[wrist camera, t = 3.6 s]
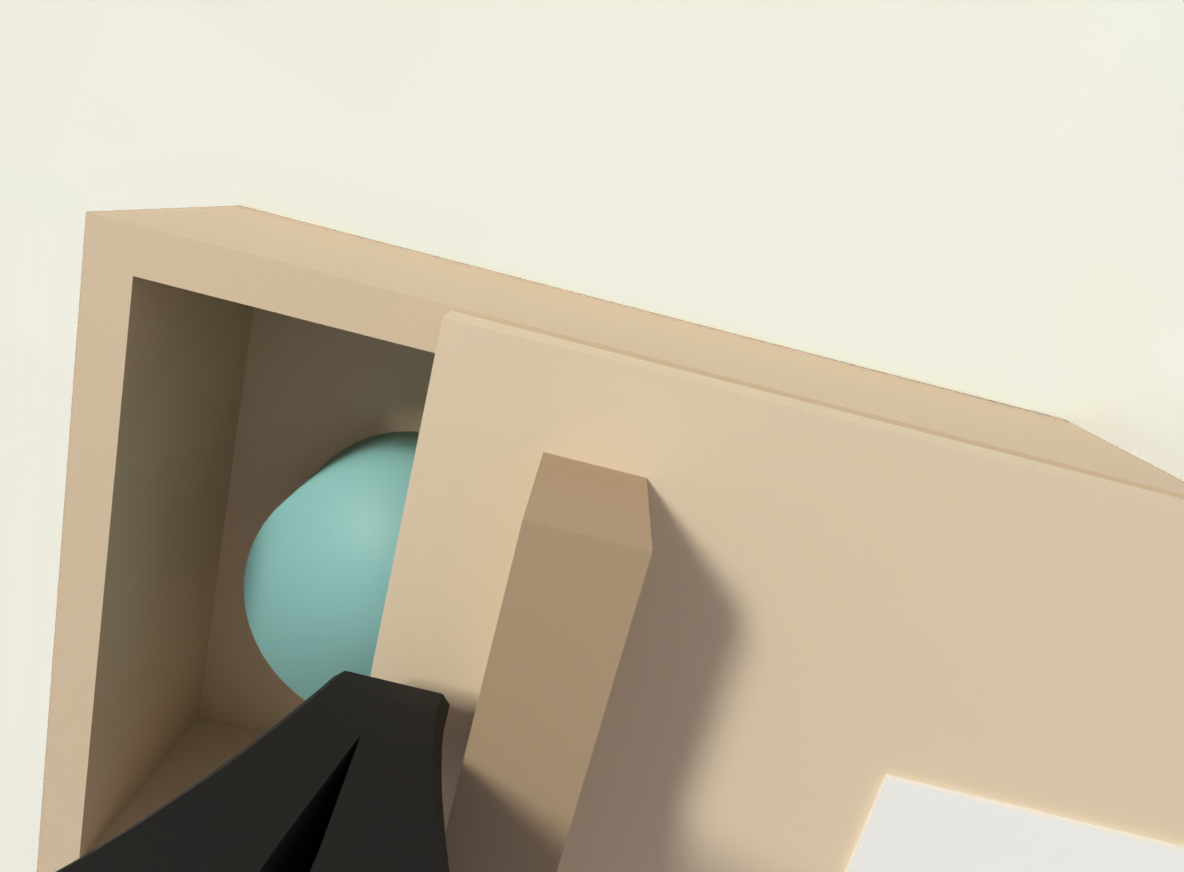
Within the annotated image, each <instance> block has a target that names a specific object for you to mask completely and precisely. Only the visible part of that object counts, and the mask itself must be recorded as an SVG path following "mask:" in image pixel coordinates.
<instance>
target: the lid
mask: <svg viewBox="0 0 1184 872" xmlns="http://www.w3.org/2000/svg"><path fill="white" fill-rule="evenodd" d="M370 677H374V678H379V679H383V680H387V681H391V682H395V683H400V684H404V685H408V686H412V687H416V688H421V689H425V690H429V691H433V692H437V693H442V694H443V695H444V697H445V698H446V700H447V701H448V703H449V704H450V706H449V711H448V715H447V719H446V723H445V728H444V732H443V742H442V800H443V813H444V825H445V838H446V847H447V856H448V864H449V871H450V872H1184V499H1181V498H1177V497H1173V496H1169V495H1165V494H1162V493H1158V492H1154V491H1150V490H1146V489H1142V488H1138V487H1134V486H1130V485H1127V484H1123V483H1119V482H1115V481H1111V480H1107V479H1103V478H1099V477H1096V476H1092V475H1088V474H1084V473H1080V472H1076V471H1072V470H1068V469H1064V468H1061V467H1057V466H1053V465H1049V464H1045V463H1041V462H1037V461H1033V460H1030V459H1026V458H1022V457H1018V456H1014V455H1010V454H1006V453H1002V452H998V451H995V450H991V449H987V448H983V447H979V446H975V445H971V444H967V443H963V442H960V441H956V440H952V439H948V438H944V437H940V436H936V435H932V434H929V433H925V432H921V431H917V430H913V429H909V428H905V427H901V426H897V425H894V424H890V423H886V422H882V421H878V420H874V419H870V418H866V417H863V416H859V415H855V414H851V413H847V412H843V411H839V410H835V409H831V408H828V407H824V406H820V405H816V404H812V403H808V402H804V401H800V400H797V399H793V398H789V397H785V396H781V395H777V394H773V393H769V392H765V391H762V390H758V389H754V388H750V387H746V386H742V385H738V384H734V383H730V382H727V381H723V380H719V379H715V378H711V377H707V376H703V375H699V374H696V373H692V372H688V371H684V370H680V369H676V368H672V367H668V366H664V365H661V364H657V363H653V362H649V361H645V360H641V359H637V358H633V357H630V356H626V355H622V354H618V353H614V352H610V351H606V350H602V349H598V348H595V347H591V346H587V345H583V344H579V343H575V342H571V341H567V340H564V339H560V338H556V337H552V336H548V335H544V334H540V333H536V332H532V331H529V330H525V329H521V328H517V327H513V326H509V325H505V324H501V323H497V322H494V321H490V320H486V319H482V318H478V317H474V316H470V315H466V314H463V313H459V312H455V311H451V312H449V313H448V314H446V315H445V316H443V317H442V322H441V327H440V332H439V337H438V342H437V347H436V352H435V357H434V362H433V367H432V372H431V377H430V382H429V387H428V392H427V397H426V402H425V407H424V412H423V417H422V422H421V426H420V431H419V436H418V441H417V446H416V451H415V456H414V461H413V466H412V471H411V476H410V481H409V486H408V491H407V496H406V501H405V506H404V511H403V516H402V521H401V526H400V531H399V536H398V541H397V545H396V550H395V555H394V560H393V565H392V570H391V575H390V580H389V585H388V590H387V595H386V600H385V605H384V610H383V615H382V620H381V625H380V630H379V635H378V640H377V645H376V650H375V655H374V660H373V664H372V669H371V674H370Z"/></svg>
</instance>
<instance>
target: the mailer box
mask: <svg viewBox="0 0 1184 872" xmlns="http://www.w3.org/2000/svg"><path fill="white" fill-rule="evenodd" d="M451 311H455V312H459V313H463V314H466V315H470V316H474V317H478V318H482V319H486V320H490V321H494V322H497V323H501V324H505V325H509V326H513V327H517V328H521V329H525V330H529V331H532V332H536V333H540V334H544V335H548V336H552V337H556V338H560V339H564V340H567V341H571V342H575V343H579V344H583V345H587V346H591V347H595V348H598V349H602V350H606V351H610V352H614V353H618V354H622V355H626V356H630V357H633V358H637V359H641V360H645V361H649V362H653V363H657V364H661V365H664V366H668V367H672V368H676V369H680V370H684V371H688V372H692V373H696V374H699V375H703V376H707V377H711V378H715V379H719V380H723V381H727V382H730V383H734V384H738V385H742V386H746V387H750V388H754V389H758V390H762V391H765V392H769V393H773V394H777V395H781V396H785V397H789V398H793V399H797V400H800V401H804V402H808V403H812V404H816V405H820V406H824V407H828V408H831V409H835V410H839V411H843V412H847V413H851V414H855V415H859V416H863V417H866V418H870V419H874V420H878V421H882V422H886V423H890V424H894V425H897V426H901V427H905V428H909V429H913V430H917V431H921V432H925V433H929V434H932V435H936V436H940V437H944V438H948V439H952V440H956V441H960V442H963V443H967V444H971V445H975V446H979V447H983V448H987V449H991V450H995V451H998V452H1002V453H1006V454H1010V455H1014V456H1018V457H1022V458H1026V459H1030V460H1033V461H1037V462H1041V463H1045V464H1049V465H1053V466H1057V467H1061V468H1064V469H1068V470H1072V471H1076V472H1080V473H1084V474H1088V475H1092V476H1096V477H1099V478H1103V479H1107V480H1111V481H1115V482H1119V483H1123V484H1127V485H1130V486H1134V487H1138V488H1142V489H1146V490H1150V491H1154V492H1158V493H1162V494H1165V495H1169V496H1173V497H1177V498H1181V499H1184V481H1182V480H1180V479H1178V478H1176V477H1174V476H1172V475H1170V474H1168V473H1166V472H1165V471H1163V470H1161V469H1159V468H1157V467H1155V466H1153V465H1151V464H1149V463H1147V462H1145V461H1143V460H1141V459H1140V458H1138V457H1136V456H1134V455H1132V454H1130V453H1128V452H1126V451H1124V450H1122V449H1120V448H1118V447H1116V446H1115V445H1113V444H1111V443H1109V442H1107V441H1105V440H1103V439H1101V438H1099V437H1097V436H1095V435H1093V434H1091V433H1090V432H1088V431H1086V430H1084V429H1082V428H1080V427H1078V426H1076V425H1074V424H1072V423H1070V422H1068V421H1066V420H1063V419H1060V418H1056V417H1052V416H1048V415H1044V414H1040V413H1037V412H1033V411H1029V410H1025V409H1021V408H1017V407H1013V406H1010V405H1006V404H1002V403H998V402H994V401H990V400H986V399H983V398H979V397H975V396H971V395H967V394H963V393H960V392H956V391H952V390H948V389H944V388H940V387H936V386H933V385H929V384H925V383H921V382H917V381H913V380H909V379H906V378H902V377H898V376H894V375H890V374H886V373H882V372H879V371H875V370H871V369H867V368H863V367H859V366H856V365H852V364H848V363H844V362H840V361H836V360H832V359H829V358H825V357H821V356H817V355H813V354H809V353H805V352H802V351H798V350H794V349H790V348H786V347H782V346H779V345H775V344H771V343H767V342H763V341H759V340H755V339H752V338H748V337H744V336H740V335H736V334H732V333H728V332H725V331H721V330H717V329H713V328H709V327H705V326H702V325H698V324H694V323H690V322H686V321H682V320H678V319H675V318H671V317H667V316H663V315H659V314H655V313H651V312H648V311H644V310H640V309H636V308H632V307H628V306H624V305H621V304H617V303H613V302H609V301H605V300H601V299H598V298H594V297H590V296H586V295H582V294H578V293H574V292H571V291H567V290H563V289H559V288H555V287H551V286H547V285H544V284H540V283H536V282H532V281H528V280H524V279H521V278H517V277H513V276H509V275H505V274H501V273H497V272H494V271H490V270H486V269H482V268H478V267H474V266H470V265H467V264H463V263H459V262H455V261H451V260H447V259H444V258H440V257H436V256H432V255H428V254H424V253H420V252H417V251H413V250H409V249H405V248H401V247H397V246H393V245H390V244H386V243H382V242H378V241H374V240H370V239H366V238H363V237H359V236H355V235H351V234H347V233H343V232H340V231H336V230H332V229H328V228H324V227H320V226H316V225H313V224H309V223H305V222H301V221H297V220H293V219H289V218H286V217H282V216H278V215H274V214H270V213H266V212H263V211H259V210H255V209H251V208H247V207H243V206H215V207H190V208H165V209H140V210H115V211H89V212H86V220H85V233H84V247H83V260H82V273H81V287H80V300H79V313H78V327H77V340H76V354H75V367H74V380H73V394H72V407H71V421H70V434H69V447H68V461H67V474H66V487H65V501H64V514H63V528H62V541H61V554H60V568H59V581H58V595H57V608H56V621H55V635H54V648H53V661H52V675H51V688H50V702H49V715H48V728H47V742H46V755H45V769H44V782H43V795H42V809H41V822H40V835H39V849H38V862H37V872H56V871H58V870H59V869H61V868H63V867H65V866H66V865H68V864H70V863H72V862H73V861H75V860H77V859H79V858H80V857H82V856H84V855H85V854H87V853H89V852H90V851H92V850H94V849H95V848H97V847H99V846H100V845H102V844H104V843H105V842H107V841H109V840H110V839H112V838H113V837H115V836H117V835H118V834H120V833H122V832H123V831H125V830H126V829H128V828H130V827H131V826H133V825H134V824H136V823H137V822H139V821H140V820H142V819H143V818H145V817H146V816H148V815H149V814H151V813H152V812H154V811H155V810H157V809H158V808H160V807H161V806H163V805H164V804H166V803H167V802H169V801H170V800H172V799H173V798H175V797H176V796H178V795H179V794H181V793H182V792H184V791H185V790H187V789H188V788H190V787H191V786H193V785H195V784H196V783H197V782H199V781H200V780H202V779H203V778H205V777H206V776H207V775H209V774H210V773H212V772H213V771H214V770H216V769H217V768H218V767H220V766H221V765H222V764H224V763H225V762H227V761H228V760H229V759H231V758H232V757H233V756H235V755H236V754H237V753H239V752H240V751H241V750H243V749H244V748H245V747H247V746H248V745H250V744H251V743H252V742H254V741H255V740H256V739H258V738H259V737H260V736H262V735H263V734H264V733H266V732H267V731H268V730H269V729H271V728H272V727H273V726H274V725H276V724H277V723H278V722H279V721H281V720H282V719H283V718H285V717H286V716H287V715H288V714H290V713H291V712H292V711H293V710H295V709H296V708H297V707H298V706H299V705H301V704H302V703H303V702H304V701H305V700H307V699H308V698H309V697H310V696H311V695H313V694H314V693H315V692H316V691H317V690H319V689H320V688H321V687H322V686H323V685H324V684H326V683H327V682H328V681H329V680H330V679H331V678H333V677H334V676H336V675H338V674H339V673H341V672H343V671H349V672H353V673H358V674H362V675H366V676H370V674H371V669H372V664H373V660H374V655H375V650H376V645H377V640H378V635H379V630H380V625H381V620H382V615H383V610H384V605H385V600H386V595H387V590H388V585H389V580H390V575H391V570H392V565H393V560H394V555H395V550H396V545H397V541H398V536H399V531H400V526H401V521H402V516H403V511H404V506H405V501H406V496H407V491H408V486H409V481H410V476H411V471H412V466H413V461H414V456H415V451H416V446H417V441H418V436H419V431H420V426H421V422H422V417H423V412H424V407H425V402H426V397H427V392H428V387H429V382H430V377H431V372H432V367H433V362H434V357H435V352H436V347H437V342H438V337H439V332H440V327H441V322H442V317H443V316H445V315H446V314H448V313H449V312H451Z"/></svg>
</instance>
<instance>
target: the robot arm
mask: <svg viewBox="0 0 1184 872" xmlns="http://www.w3.org/2000/svg"><path fill="white" fill-rule="evenodd" d="M449 706H450V704H449V703H448V701H447V700H446V698H445V697H444V695H443V694H442V693H437V692H433V691H429V690H425V689H421V688H416V687H412V686H408V685H404V684H400V683H395V682H391V681H387V680H383V679H379V678H374V677H370V676H366V675H362V674H358V673H353V672H349V671H343V672H341V673H339V674H338V675H336V676H334V677H333V678H331V679H330V680H329V681H328V682H327V683H326V684H324V685H323V686H322V687H321V688H320V689H319V690H317V691H316V692H315V693H314V694H313V695H311V696H310V697H309V698H308V699H307V700H305V701H304V702H303V703H302V704H301V705H299V706H298V707H297V708H296V709H295V710H293V711H292V712H291V713H290V714H288V715H287V716H286V717H285V718H283V719H282V720H281V721H279V722H278V723H277V724H276V725H274V726H273V727H272V728H271V729H269V730H268V731H267V732H266V733H264V734H263V735H262V736H260V737H259V738H258V739H256V740H255V741H254V742H252V743H251V744H250V745H248V746H247V747H245V748H244V749H243V750H241V751H240V752H239V753H237V754H236V755H235V756H233V757H232V758H231V759H229V760H228V761H227V762H225V763H224V764H222V765H221V766H220V767H218V768H217V769H216V770H214V771H213V772H212V773H210V774H209V775H207V776H206V777H205V778H203V779H202V780H200V781H199V782H197V783H196V784H195V785H193V786H191V787H190V788H188V789H187V790H185V791H184V792H182V793H181V794H179V795H178V796H176V797H175V798H173V799H172V800H170V801H169V802H167V803H166V804H164V805H163V806H161V807H160V808H158V809H157V810H155V811H154V812H152V813H151V814H149V815H148V816H146V817H145V818H143V819H142V820H140V821H139V822H137V823H136V824H134V825H133V826H131V827H130V828H128V829H126V830H125V831H123V832H122V833H120V834H118V835H117V836H115V837H113V838H112V839H110V840H109V841H107V842H105V843H104V844H102V845H100V846H99V847H97V848H95V849H94V850H92V851H90V852H89V853H87V854H85V855H84V856H82V857H80V858H79V859H77V860H75V861H73V862H72V863H70V864H68V865H66V866H65V867H63V868H61V869H59V870H58V871H56V872H450V871H449V864H448V856H447V847H446V838H445V825H444V813H443V800H442V742H443V732H444V728H445V723H446V719H447V715H448V711H449Z"/></svg>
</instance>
